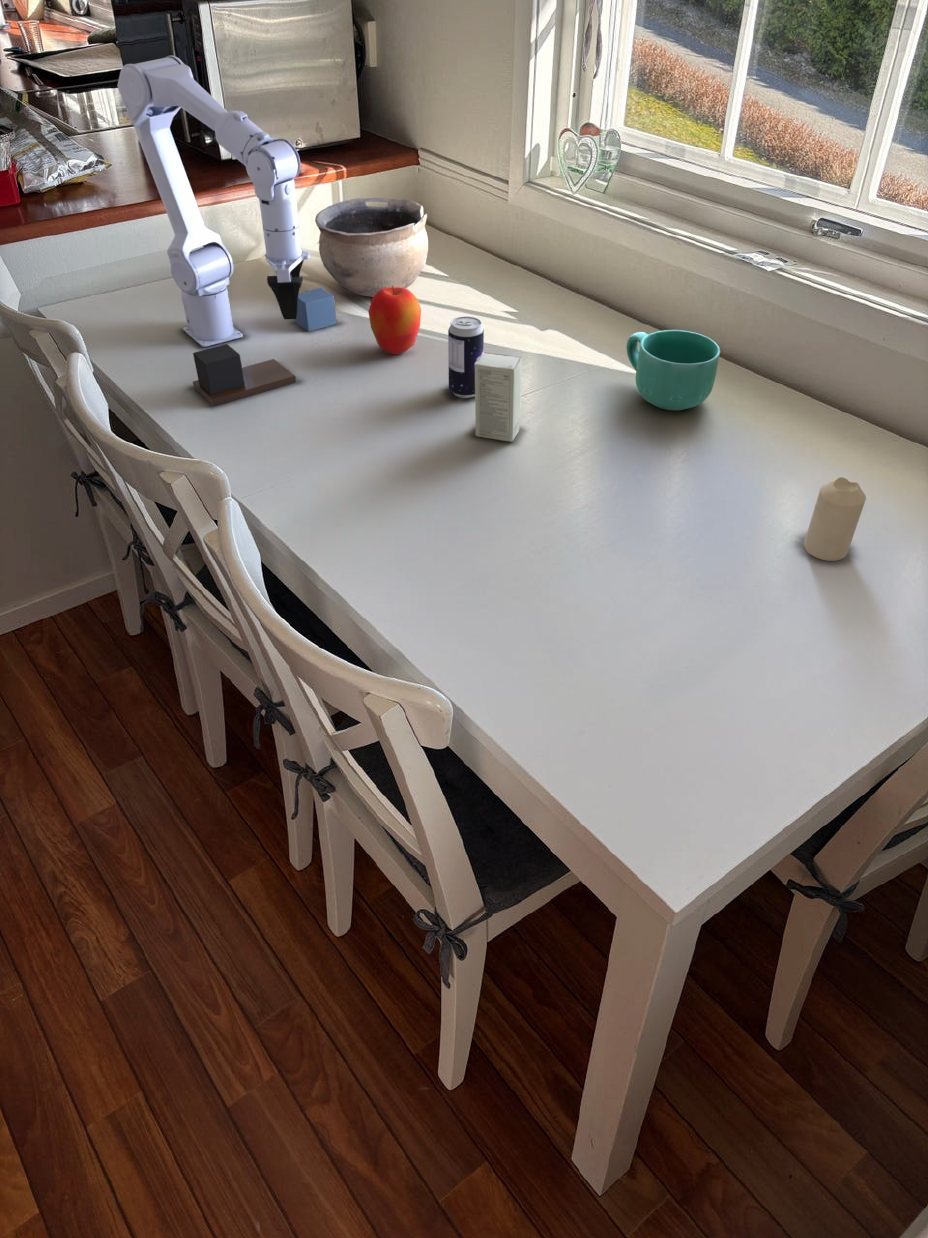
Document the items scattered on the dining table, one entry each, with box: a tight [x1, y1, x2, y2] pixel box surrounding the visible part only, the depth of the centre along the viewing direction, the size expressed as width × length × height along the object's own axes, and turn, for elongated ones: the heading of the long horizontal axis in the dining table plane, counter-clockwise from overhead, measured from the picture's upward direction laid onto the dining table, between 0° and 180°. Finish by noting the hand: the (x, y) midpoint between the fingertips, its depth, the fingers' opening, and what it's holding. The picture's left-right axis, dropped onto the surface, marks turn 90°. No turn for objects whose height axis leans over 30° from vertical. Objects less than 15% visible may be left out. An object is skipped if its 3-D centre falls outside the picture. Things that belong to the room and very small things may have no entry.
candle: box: [803, 476, 867, 562], centre depth 118 cm, size 6×6×10 cm
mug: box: [625, 329, 721, 412], centre depth 150 cm, size 17×13×10 cm
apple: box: [368, 286, 422, 355], centre depth 162 cm, size 9×9×12 cm
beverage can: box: [447, 316, 485, 399], centre depth 150 cm, size 6×6×12 cm
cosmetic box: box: [474, 351, 522, 443], centre depth 140 cm, size 6×4×12 cm
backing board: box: [192, 358, 297, 407], centre depth 155 cm, size 8×15×1 cm, turn 125°
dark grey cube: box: [192, 343, 245, 395], centre depth 151 cm, size 5×6×6 cm
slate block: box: [295, 287, 337, 333], centre depth 173 cm, size 6×5×6 cm
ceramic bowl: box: [314, 197, 429, 298], centre depth 183 cm, size 22×22×15 cm
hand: (290, 309), depth 155 cm, fingers open, 7 cm apart
